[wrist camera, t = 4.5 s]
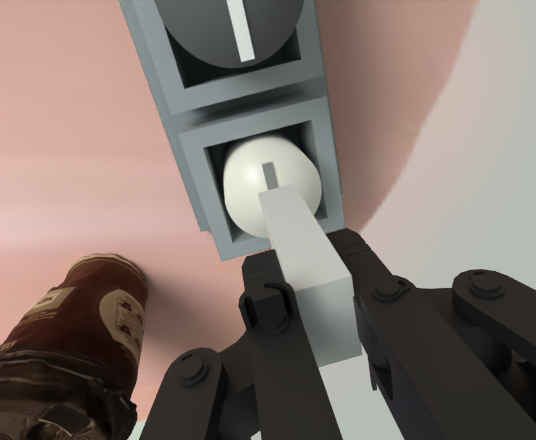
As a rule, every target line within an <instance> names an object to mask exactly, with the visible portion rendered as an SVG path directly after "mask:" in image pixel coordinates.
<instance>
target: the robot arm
mask: <svg viewBox="0 0 536 440" xmlns="http://www.w3.org/2000/svg"><path fill="white" fill-rule="evenodd" d="M258 196H259V200H260V204H261V208H262V212H263V216H264V220H265V223H266V227H267V231H268V235H269V239H270V243H271V247H272V250H269V251H265V252H262V253H258V254H255V255H251V256H247V257H246V259H245V261H244V263H243V265H242V274H243V281H244V286H245V287H244V288H245V291H244V293H243V294H242V295H241V297H240V299H239V305H238V306H239V309H240V312H241V315H242V317H243V320H244V323H245V326H246V329H247V330H246V331H245V333H244V334H243V336H242V337H241V338H240V339H239V340H238V341H237V342H236V343H234V344H233V345H231V346H230V347H228V348H227V349H225V350H223V351H221V352H220V353H217V352H216V351H214V350H212V349H210V348H197V349H193V350H189V351H188V352H186V353H184V354H182V355H180V356H179V357H178V358H177V359H176V360H175V361H174V362H173V363H172V364H171V365H170V367H169V368H168V370H167V372H166V373H165V375H164V378H163V380H162V383H161V385H160V388H159V390H158V393H157V395H156V398H155V400H154V403H153V405H152V408H151V410H150V413H149V415H148V418H147V420H146V423H145V426H144V428H143V430H142V433H141V436H140V438H139V440H251V436H253V435H254V434H256V433H257V432H258V431H261V438H262V440H343V439H342V436H341V433H340V430H339V427H338V424H337V421H336V418H335V415H334V412H333V409H332V407H331V404H330V401H329V398H328V395H327V392H326V389H325V386H324V384H323V381H322V378H321V375H320V372H319V369H318V367H321V366H325V365H328V364H332V363H335V362H339V361H342V360H346V359H348V358H352V357H356V356H359V355H362V348H361V343H362V345H363V347H364V349H365V351H366V353H367V355H368V362H369V369H370V378H371V384H372V388H373V391H374V390H377V385H378V387H379V389H380V391H381V393H382V395H383V397H384V399H385V401H386V403H387V405H388V407H389V409H390V411H391V413H392V415H393V417H394V419H395V421H396V423H397V425H398V427H399V429H400V431H401V433H402V435H403V437H404V439H405V440H536V290H534V289H532V288H530V287H528V286H526V285H524V284H522V283H520V282H518V281H517V280H514V279H513V278H510V277H509V276H507V275H504V274H501V273H499V272H496V271H490V270H483V269H478V270H469V271H465V272H462V273H460V274H459V275H458V276H456V277H455V278H454V281H453V285H452V288H437V289H422V288H416V287H415V285H414V284H412V283H411V282H410V281H408V280H407V279H405V278H402V277H399V276H395V275H392V274H391V273H390V271H389V270H388V269H387V268H386V266H385V265H384V264H383V263H382V261H381V260H380V259H379V258H378V257H377V255H376V254H375V253H374V252H373V251H372V250H371V248H370V247H369V246H368V244H366V243H365V241H364V240H363V238H362V237H361V236H360V235H359V234H358V233H356V232H354V231H352V230H350V229H348V228H346V229H342V230H338V231H335V232H331V233H327V234H325V233H324V231H323V230H322V228H321V227H320V225H319V224H318V222H317V220H316V219H315V217H314V216H313V214H312V213H311V211H310V209H309V208H308V206H307V205H306V203H305V202H304V200H303V198H302V197H301V195H300V194H299V192H298V191H297V189H296V187H295V186H294V184H290V185H286V186H282V187H278V188H275V189H271V190H267V191H263V192H260V193H258ZM513 351H514V352H513ZM376 383H377V384H376Z"/></svg>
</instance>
